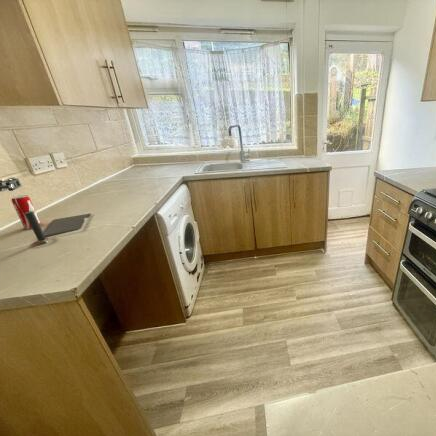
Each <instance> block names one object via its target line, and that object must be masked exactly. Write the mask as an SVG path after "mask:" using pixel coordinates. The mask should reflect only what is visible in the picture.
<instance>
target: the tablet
mask: <svg viewBox="0 0 436 436" xmlns="http://www.w3.org/2000/svg"><path fill="white" fill-rule="evenodd" d="M91 215H92V213H84V214H78V215H73V216H67V217H60V218H55V219H52V221H51V222H50V223H49V224H48V226H47V227H46V228H45V229H44V230H43V233H44V235H45V237H46V238H48V237H54V236H57V235H62V234H66V233H70V232H75V231H76V232H77V231H80V230H81V229H82V227H83V225H84V223H85V221H86V220H85V219H88V218H90V216H91Z"/></svg>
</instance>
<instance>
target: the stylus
mask: <svg viewBox="0 0 436 436" xmlns="http://www.w3.org/2000/svg"><path fill="white" fill-rule="evenodd" d="M25 215H26V217H27V219H28V221H29V223H30V225H31V227H32V228H31V230H32V231H33V233H34V235H35V237H36V239H37V241H39V243H44V242H47V243H48V240H47V239H46V238H47V237H45V235H44V233H43V232H44V230H43V229H42V226H41V225H39V223H38V220H37V218H36V216H35V214H34V212H33V211H30V212H26V213H25Z"/></svg>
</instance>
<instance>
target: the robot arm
mask: <svg viewBox="0 0 436 436" xmlns="http://www.w3.org/2000/svg"><path fill="white" fill-rule="evenodd" d="M21 187H22V184H21V182H20V179H19V178H15V177H9V178H7V179H0V193H2V192H5V191H10V192H13V191H15V190H17V189H19V188H21Z"/></svg>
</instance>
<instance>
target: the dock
mask: <svg viewBox="0 0 436 436" xmlns="http://www.w3.org/2000/svg"><path fill="white" fill-rule="evenodd" d="M46 239H47V242H44V243H39V241H38V240H36V241H34V242H32V243H31V245H30V246H31V247H40V246H44V245H47V244H48V239H49V238H48V237H46Z"/></svg>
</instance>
